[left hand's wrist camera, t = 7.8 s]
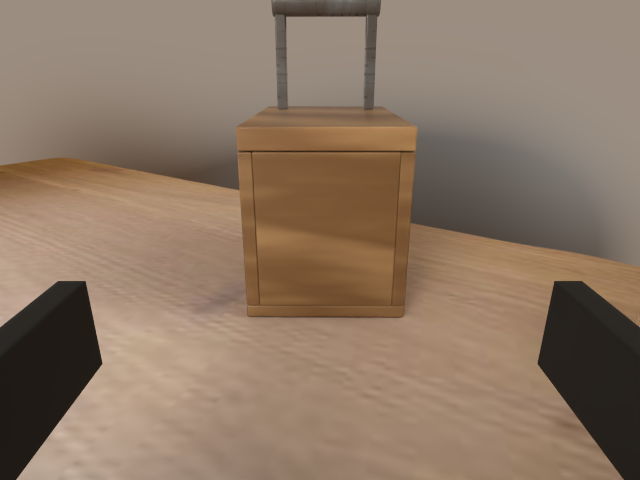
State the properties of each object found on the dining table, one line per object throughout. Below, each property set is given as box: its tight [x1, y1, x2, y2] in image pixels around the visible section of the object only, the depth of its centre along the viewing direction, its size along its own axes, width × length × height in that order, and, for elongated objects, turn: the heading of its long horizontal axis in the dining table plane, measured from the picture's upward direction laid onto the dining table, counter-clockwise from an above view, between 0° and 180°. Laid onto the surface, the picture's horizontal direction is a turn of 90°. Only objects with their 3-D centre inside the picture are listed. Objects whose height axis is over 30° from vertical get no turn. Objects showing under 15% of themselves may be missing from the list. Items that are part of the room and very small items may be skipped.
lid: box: [236, 0, 417, 151], centre depth 27 cm, size 14×9×9 cm, turn 0°
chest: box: [237, 151, 416, 317], centre depth 30 cm, size 13×9×9 cm
